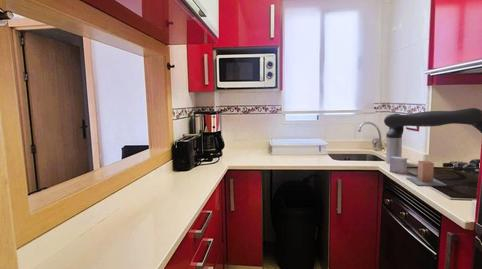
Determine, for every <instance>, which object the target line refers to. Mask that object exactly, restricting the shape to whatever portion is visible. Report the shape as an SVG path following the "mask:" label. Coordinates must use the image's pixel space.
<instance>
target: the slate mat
mask: <svg viewBox="0 0 482 269" xmlns="http://www.w3.org/2000/svg"><path fill="white" fill-rule="evenodd" d="M405 180H408V181H409V182H411V183H412V184H414V185H415V186H419V187H420V186H421V187H428V186H429V187H447V184H445V183H444V182H442V181H440V180H438V179H436V178H434V177H433V182H421V181H419V180H418V177H405Z"/></svg>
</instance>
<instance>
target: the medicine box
mask: <svg viewBox="0 0 482 269" xmlns="http://www.w3.org/2000/svg"><path fill="white" fill-rule="evenodd" d="M407 160H408V159H407V157H402V156H401V157H391V158H390V163H389V172H390V173H392V172H393V173H397V174H406V173H407V170H408V168H407V166H408V164H407V163H408V161H407Z"/></svg>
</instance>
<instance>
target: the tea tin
mask: <svg viewBox="0 0 482 269" xmlns="http://www.w3.org/2000/svg"><path fill="white" fill-rule="evenodd" d="M434 164H435V162H433V161H430V160H418V161H417V178H418V180H419V181H421V182H433V178H434V169H435V168H434V167H435V165H434Z"/></svg>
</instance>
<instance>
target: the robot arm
mask: <svg viewBox="0 0 482 269" xmlns="http://www.w3.org/2000/svg"><path fill="white" fill-rule="evenodd" d="M383 123H384V125H385V126H387V127H388V128H389V129H388V131H387V132H386V136H385V141H386V142H385V147H386V148H385V149H386V150H385V162H386V163H388V164H390V158H391V157H402V154H403V152H402V147H403V134H404V129H405V128H404V127H424V128H425V127H440V126H445V125H451V124H452V125H453V124H455V125H456V124H457V125H458V124H459V125H469V126H472V127H474V128H475V129H477V131H479V132H480V134H482V109H479V108H477V107H469V108H463V109H457V110H432V111H431V110H430V111H420V112H415V113H407V114H400V113H389V114H388V115H386V116H385V117H384V120H383ZM480 159H481V158H480ZM480 159H479V158H478V159H477V158H475V159H471V160H470V161H469V162H467V161H449V162H443V163H442V167H443V168H452V172H462V173H466V174H469V173H470V174H473V175H480V174H479V163H480Z"/></svg>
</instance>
